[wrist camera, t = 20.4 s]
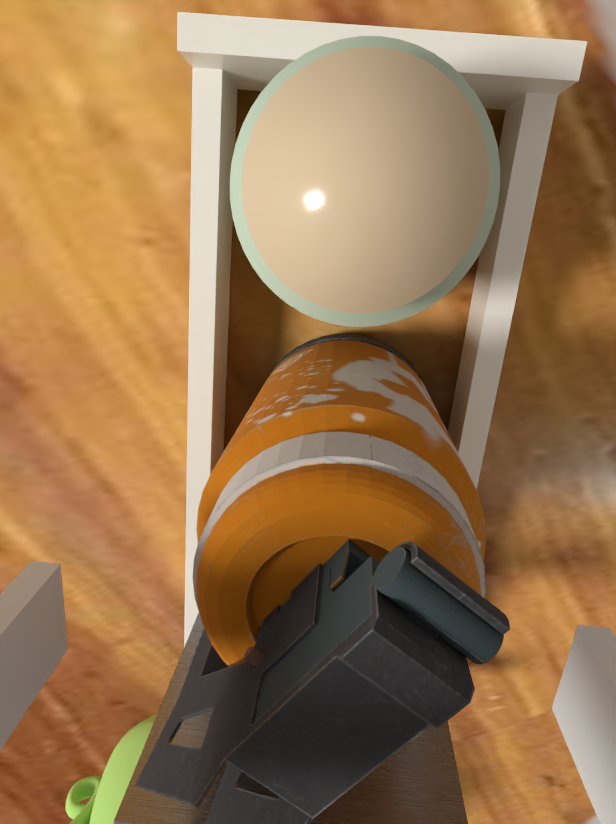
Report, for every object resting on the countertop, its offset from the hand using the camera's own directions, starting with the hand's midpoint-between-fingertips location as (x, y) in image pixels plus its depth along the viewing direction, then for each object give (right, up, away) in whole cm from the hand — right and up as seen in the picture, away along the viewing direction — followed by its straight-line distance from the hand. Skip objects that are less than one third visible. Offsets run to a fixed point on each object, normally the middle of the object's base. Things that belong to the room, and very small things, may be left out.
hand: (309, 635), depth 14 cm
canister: (+1, +5, +15) cm, 16 cm away
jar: (+2, +15, +12) cm, 19 cm away
